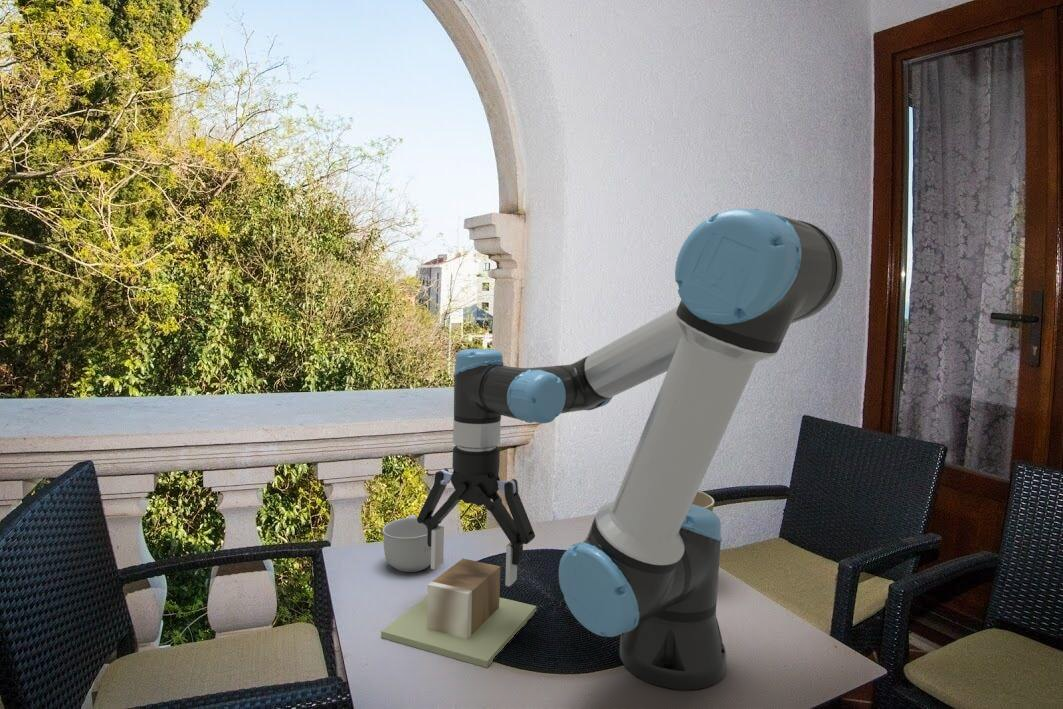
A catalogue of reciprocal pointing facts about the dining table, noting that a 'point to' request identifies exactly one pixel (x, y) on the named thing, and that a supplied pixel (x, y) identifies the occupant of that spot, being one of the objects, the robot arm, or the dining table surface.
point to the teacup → (407, 544)
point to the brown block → (463, 598)
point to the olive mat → (470, 650)
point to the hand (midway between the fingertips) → (473, 574)
